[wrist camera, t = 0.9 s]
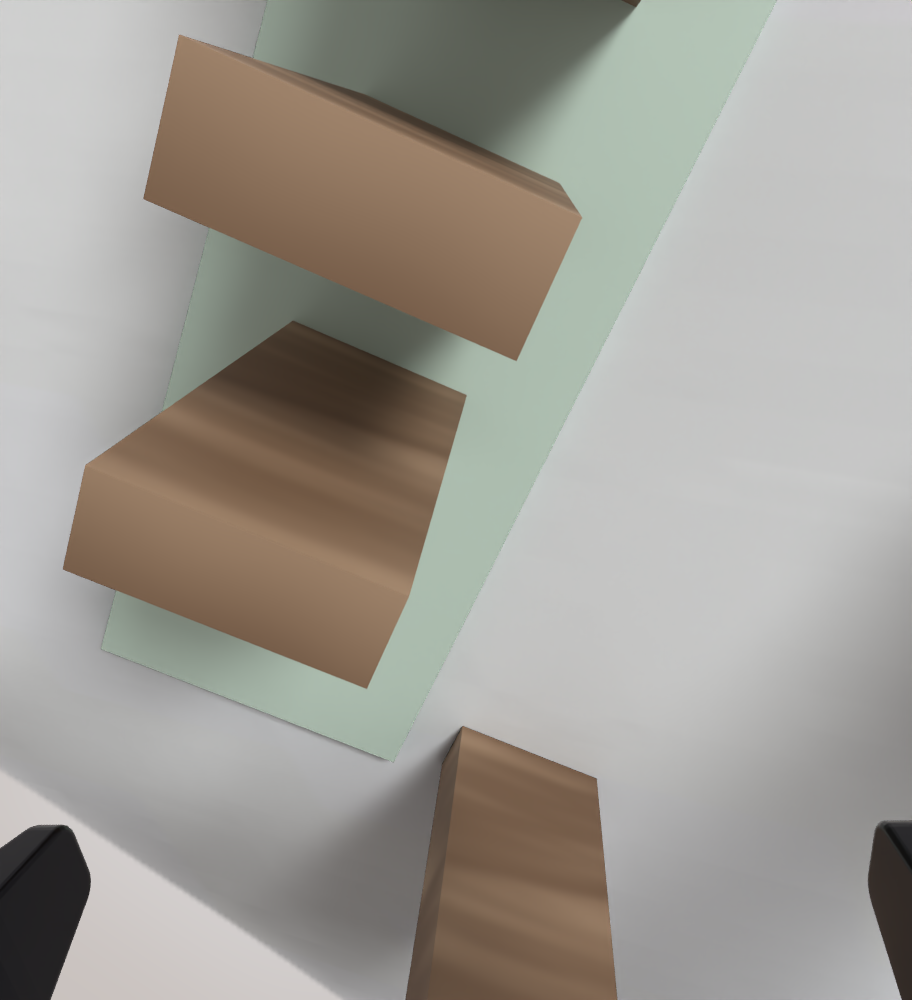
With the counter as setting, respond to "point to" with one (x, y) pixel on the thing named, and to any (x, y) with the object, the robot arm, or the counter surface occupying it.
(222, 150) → the domino
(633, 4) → the domino
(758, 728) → the counter surface
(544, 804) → the domino
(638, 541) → the counter surface
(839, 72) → the counter surface
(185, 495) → the domino
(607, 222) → the board
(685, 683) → the counter surface
